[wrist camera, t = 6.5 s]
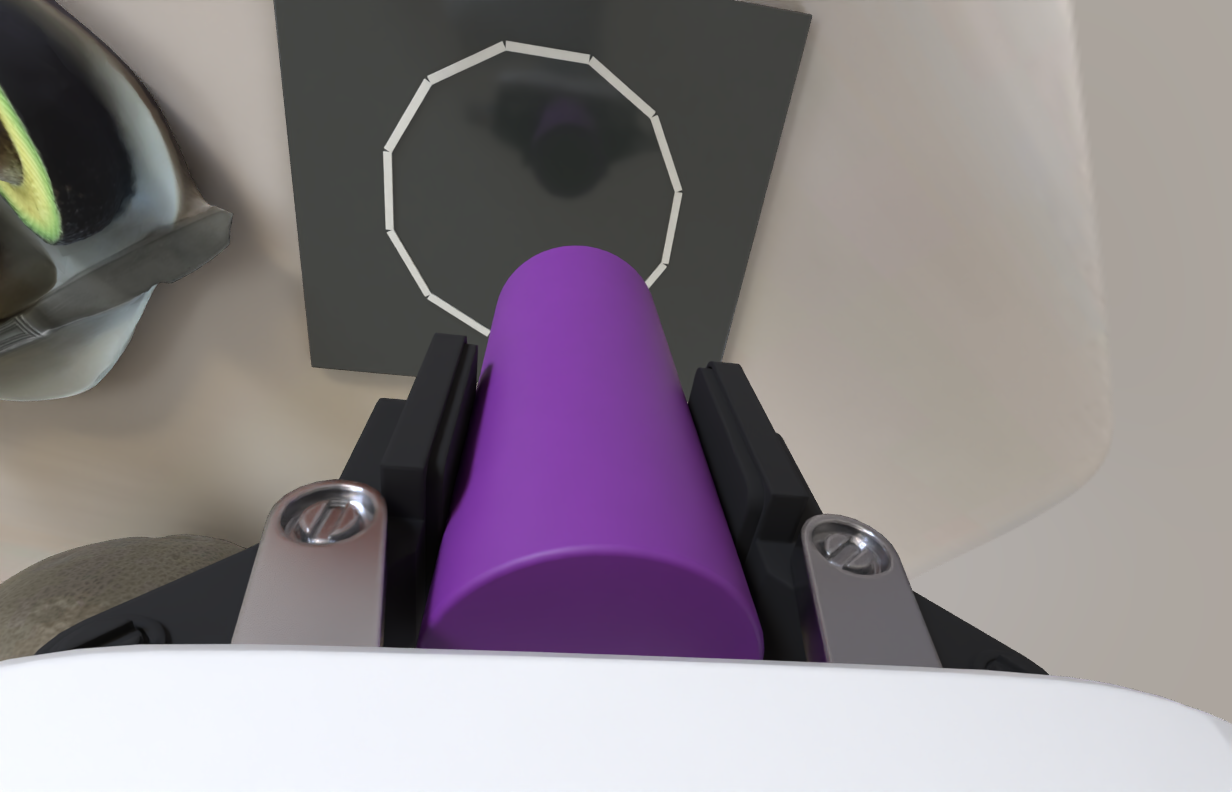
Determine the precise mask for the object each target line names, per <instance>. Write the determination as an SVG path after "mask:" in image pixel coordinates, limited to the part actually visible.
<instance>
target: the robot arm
mask: <svg viewBox="0 0 1232 792" xmlns="http://www.w3.org/2000/svg"><path fill="white" fill-rule="evenodd" d="M477 362H478V345H474V344H467V336H463V335H453V334H444V333H435V334H434V336H433V338H432V341H431V343H430V346H429V348H428V350H427V353H426V355H425V358H424V360H423V362H422V365H421V367H420V370H419V372H418V374H417V377H416V379H415V382H414V384H413V386H412V389H411V391H410V394H409V396H408V398H407V400H400V399H389V398H380V399H379V400H378V402H377V403H376V405H375V407H374V409H373V412H372V414H371V416H370V418H369V420H368V422H367V424H366V426H365V428H364V430H363V432H362V434H361V436H360V438H359V440H358V442H357V444H356V446H355V448H354V450H353V452H352V454H351V456H350V458H349V460H348V462H347V464H346V466H345V468H344V470H343V472H342V474H341V476H340V478H339V479H333V480H326V481H318V482H314V483H311V484H308V485H305V486H301V487H299V488H297V489H295V490H293V491H292V492H290V493H288V494H286V495H285V496H283V497H282V498H281V499H280V500H279V501H278V502H277V503H276V504H275V505H274V506H273V508H272V509H271V511H270V513H269V515H268V517H267V520H266V523H265V527H264V530H263V534H262V537H261V541H260V543H259V544H257V545H254V546H252V547H250V548H247V549H245V550H243V551H241V552H238V553H236V554H234V555H231V556H229V557H227V558H225V559H222V560H220V561H218V562H215V563H213V564H211V565H209V566H206V567H204V568H202V569H199V570H197V571H195V572H193V573H190V574H188V575H186V576H183V577H181V578H179V579H177V580H174V581H172V582H170V583H167V584H165V585H163V586H161V587H158V588H156V589H154V590H151V591H149V592H147V593H145V594H142V595H140V596H138V597H135V598H133V599H131V600H129V601H126V602H124V603H122V604H119V605H117V606H115V607H113V608H110V609H108V610H106V611H103V612H101V613H99V614H97V615H94V616H92V617H90V618H87V619H85V620H83V621H81V622H79V623H77V624H75V625H74V626H72V627H70V628H68V629H66V630H64V631H62V632H61V633H59V634H58V635H56V636H55V637H54V638H53V639H51V640H50V641H49V642H47V643H46V644H45V645H44V646H42V647H41V648H40V649H38V651H37V652H36V653H35V654H34V655H33V656H27V657H20V658H13V659H8V660H4V661H0V792H1232V723H1230V722H1227V721H1225V720H1223V719H1220V718H1218V717H1216V716H1214V715H1212V714H1209V713H1207V712H1204V711H1202V710H1199V709H1196V708H1193V707H1190V706H1187V705H1184V704H1182V703H1179V702H1176V701H1173V700H1170V699H1168V698H1165V697H1162V696H1159V695H1155V694H1151V693H1147V692H1143V691H1139V690H1134V689H1131V688H1127V687H1123V686H1119V685H1115V684H1111V683H1105V682H1099V681H1092V680H1086V679H1080V678H1073V677H1064V676H1052V675H1049V674H1048V673H1047V672H1046V671H1044V670H1043V669H1042V668H1041V667H1039V666H1038V665H1036V664H1035V663H1034V662H1032V661H1031V660H1029V659H1027V658H1026V657H1025V656H1023V655H1021V654H1020V653H1018V652H1016V651H1015V650H1013V649H1011V648H1009V647H1008V646H1006V645H1004V644H1003V643H1001V642H999V641H998V640H996V639H994V638H992V637H991V636H989V635H987V634H985V633H984V632H982V631H981V630H979V629H977V628H975V627H974V626H972V625H970V624H969V623H967V622H965V621H963V620H962V619H960V618H958V617H957V616H955V615H953V614H952V613H950V612H948V611H946V610H945V609H943V608H941V607H940V606H938V605H936V604H934V603H933V602H931V601H929V600H927V599H926V598H924V597H922V596H921V595H919V594H917V593H916V592H914V591H912V588H911V586H910V583H909V581H908V578H907V576H906V573H905V570H904V568H903V565H902V563H901V560H900V558H899V556H898V554H897V552H896V550H895V549H894V547H893V545H892V544H891V543H890V542H889V541H888V540H887V539H886V538H885V537H884V536H883V535H882V534H880V533H879V532H877V531H876V530H875V529H873V528H872V527H870V526H868V525H866V524H864V523H862V522H860V521H858V520H856V519H853V518H849V517H846V516H842V515H835V514H823V513H822V511H821V509H820V508H819V506H818V504H817V502H816V500H815V498H814V496H813V494H812V493H811V491H810V489H809V487H808V485H807V483H806V481H805V479H804V478H803V476H802V474H801V472H800V470H799V468H798V466H797V464H796V463H795V461H794V459H793V457H792V455H791V453H790V451H789V449H788V448H787V446H786V444H785V442H784V440H783V438H782V437H781V436H780V435H779V434H778V433H776V432H775V431H774V429H773V427H772V425H771V423H770V421H769V419H768V417H767V415H766V413H765V411H764V410H763V408H762V406H761V404H760V402H759V400H758V398H757V396H756V394H755V392H754V390H753V389H752V387H751V385H750V383H749V381H748V379H747V377H746V375H745V373H744V371H743V369H742V368H741V366H740V365H739V364H734V363H724V362H715V361H710V362H709V363H708V364H707V366H706V368H700V367H699V368H698V369H697V371H696V373H695V377H694V381H693V385H692V389H691V393H690V398H689V402H688V407H689V410H690V413H691V416H692V419H693V422H694V425H695V428H696V431H697V434H698V437H699V440H700V443H701V446H702V449H703V452H704V455H705V458H706V461H707V464H708V467H709V470H710V473H711V476H712V479H713V482H714V485H715V488H716V491H717V494H718V497H719V500H720V503H721V506H722V509H723V512H724V515H725V518H726V521H727V524H728V527H729V530H730V533H731V536H732V539H733V542H734V545H735V548H736V551H737V554H738V557H739V560H740V563H741V567H742V570H743V573H744V576H745V579H746V582H747V585H748V588H749V591H750V594H751V597H752V600H753V603H754V606H755V609H756V612H757V615H758V618H759V621H760V624H761V628H762V631H763V637H764V657H763V660H747V659H720V658H693V657H666V656H639V655H610V654H581V653H553V652H522V651H489V650H456V649H423V648H416V645H417V641H418V636H419V632H420V628H421V624H422V619H423V615H424V611H425V607H426V602H427V598H428V594H429V590H430V585H431V581H432V577H433V573H434V568H435V564H436V560H437V556H438V551H439V547H440V544H441V541H442V537H443V532H444V528H445V524H446V520H447V515H448V511H449V507H450V502H451V498H452V494H453V490H454V485H455V481H456V477H457V473H458V468H459V464H460V460H461V456H462V451H463V447H464V443H465V438H466V434H467V430H468V426H469V421H470V417H471V413H472V409H473V404H474V400H475V396H476V384H477Z"/></svg>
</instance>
